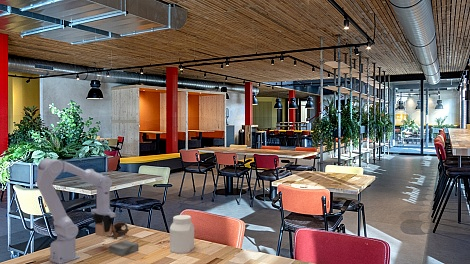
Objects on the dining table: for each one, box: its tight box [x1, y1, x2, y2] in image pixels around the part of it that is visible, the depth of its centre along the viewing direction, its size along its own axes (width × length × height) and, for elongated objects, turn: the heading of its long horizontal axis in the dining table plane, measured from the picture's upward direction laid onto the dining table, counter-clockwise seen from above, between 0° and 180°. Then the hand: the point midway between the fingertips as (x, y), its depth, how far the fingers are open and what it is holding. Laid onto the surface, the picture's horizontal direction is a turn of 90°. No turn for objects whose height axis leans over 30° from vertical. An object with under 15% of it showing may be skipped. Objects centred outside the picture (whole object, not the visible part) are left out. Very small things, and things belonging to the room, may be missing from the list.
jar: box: [169, 214, 195, 254], centre depth 170 cm, size 12×10×15 cm
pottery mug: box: [109, 221, 129, 240], centre depth 190 cm, size 12×10×8 cm
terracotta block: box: [95, 222, 113, 237], centre depth 171 cm, size 5×5×5 cm
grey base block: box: [108, 240, 139, 257], centre depth 167 cm, size 9×9×4 cm
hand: (103, 230), depth 171 cm, fingers closed on terracotta block, 5 cm apart
